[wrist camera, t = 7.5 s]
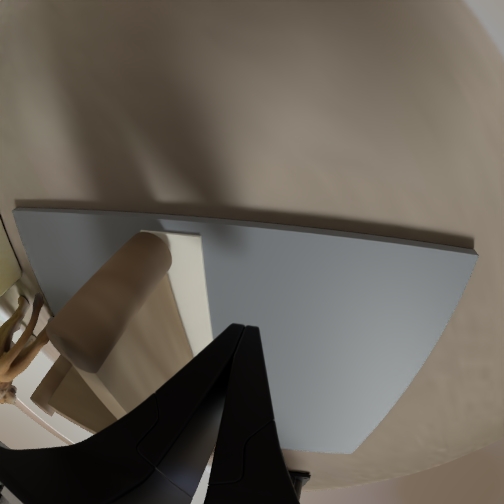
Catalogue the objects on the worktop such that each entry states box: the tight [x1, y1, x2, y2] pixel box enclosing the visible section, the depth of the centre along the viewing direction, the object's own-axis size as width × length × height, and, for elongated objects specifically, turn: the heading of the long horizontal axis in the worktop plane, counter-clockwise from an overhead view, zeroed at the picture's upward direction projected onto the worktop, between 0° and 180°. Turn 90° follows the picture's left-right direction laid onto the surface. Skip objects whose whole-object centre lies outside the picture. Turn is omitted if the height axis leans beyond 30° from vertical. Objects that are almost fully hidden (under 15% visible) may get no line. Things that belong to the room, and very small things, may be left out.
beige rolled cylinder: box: [46, 232, 193, 419], centre depth 10 cm, size 2×9×5 cm, turn 5°
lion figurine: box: [0, 293, 54, 405], centre depth 15 cm, size 15×5×9 cm, turn 135°
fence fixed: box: [30, 355, 118, 434], centre depth 14 cm, size 2×11×6 cm, turn 91°
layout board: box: [12, 208, 479, 454], centre depth 14 cm, size 18×22×1 cm
